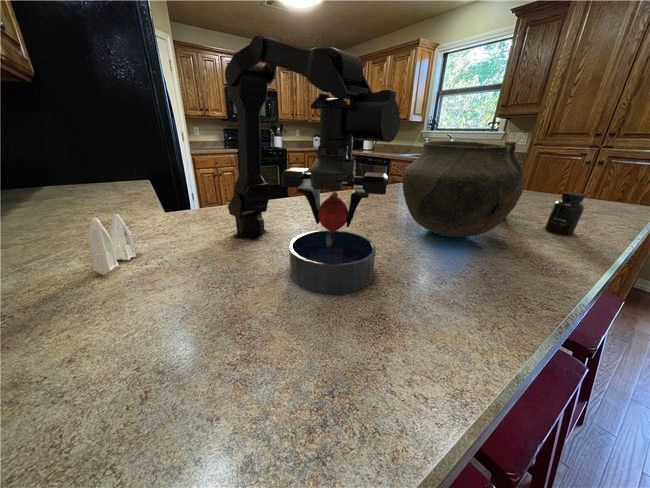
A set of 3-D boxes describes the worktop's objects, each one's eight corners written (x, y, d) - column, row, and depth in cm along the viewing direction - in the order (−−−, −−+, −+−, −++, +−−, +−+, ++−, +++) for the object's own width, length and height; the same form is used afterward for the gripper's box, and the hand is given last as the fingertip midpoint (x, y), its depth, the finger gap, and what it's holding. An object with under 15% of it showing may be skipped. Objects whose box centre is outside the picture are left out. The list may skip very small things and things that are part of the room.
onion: (345, 239, 50) (347, 196, 46) (314, 236, 51) (315, 194, 47) (348, 228, 55) (351, 190, 52) (321, 226, 56) (322, 188, 53)
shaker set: (112, 279, 51) (93, 225, 47) (87, 280, 51) (66, 225, 46) (141, 252, 62) (128, 206, 58) (121, 253, 61) (107, 206, 57)
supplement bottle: (548, 233, 80) (563, 194, 75) (541, 226, 86) (555, 189, 81) (577, 237, 78) (594, 197, 73) (567, 230, 84) (583, 192, 79)
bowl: (277, 286, 50) (275, 258, 48) (304, 249, 66) (304, 226, 63) (369, 301, 47) (372, 270, 44) (375, 258, 62) (377, 234, 60)
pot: (489, 267, 59) (525, 148, 49) (376, 228, 81) (386, 140, 71) (527, 237, 77) (559, 145, 67) (426, 212, 99) (439, 139, 89)
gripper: (265, 138, 41) (271, 233, 47) (391, 143, 37) (378, 246, 43) (291, 136, 51) (292, 215, 57) (392, 140, 47) (381, 224, 53)
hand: (332, 224), depth 52 cm, fingers closed on onion, 6 cm apart
